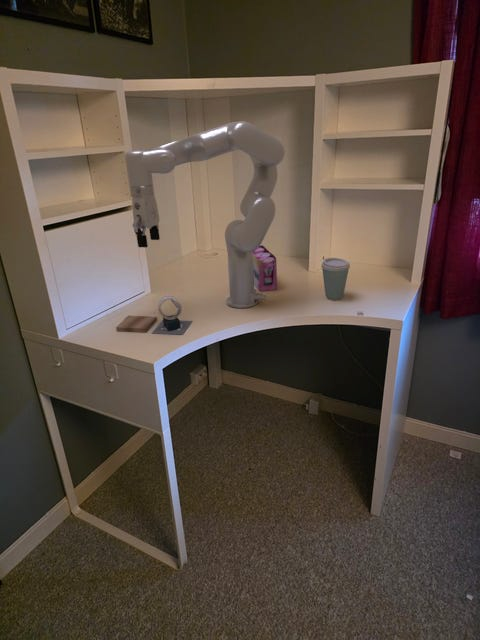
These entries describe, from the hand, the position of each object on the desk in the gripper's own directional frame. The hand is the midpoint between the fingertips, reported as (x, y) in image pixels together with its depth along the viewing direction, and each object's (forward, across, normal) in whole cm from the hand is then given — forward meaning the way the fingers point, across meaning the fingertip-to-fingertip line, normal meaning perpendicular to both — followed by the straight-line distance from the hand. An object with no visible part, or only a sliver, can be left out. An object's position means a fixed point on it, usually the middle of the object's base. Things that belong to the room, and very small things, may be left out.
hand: (149, 243), depth 145 cm
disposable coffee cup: (+28, +28, -62) cm, 73 cm away
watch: (+28, -8, -8) cm, 30 cm away
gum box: (+28, +42, -30) cm, 59 cm away
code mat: (+28, -8, -8) cm, 30 cm away
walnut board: (+28, -8, +5) cm, 29 cm away
